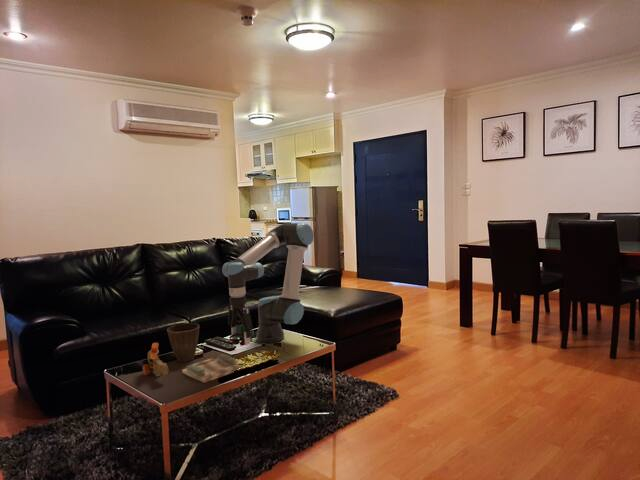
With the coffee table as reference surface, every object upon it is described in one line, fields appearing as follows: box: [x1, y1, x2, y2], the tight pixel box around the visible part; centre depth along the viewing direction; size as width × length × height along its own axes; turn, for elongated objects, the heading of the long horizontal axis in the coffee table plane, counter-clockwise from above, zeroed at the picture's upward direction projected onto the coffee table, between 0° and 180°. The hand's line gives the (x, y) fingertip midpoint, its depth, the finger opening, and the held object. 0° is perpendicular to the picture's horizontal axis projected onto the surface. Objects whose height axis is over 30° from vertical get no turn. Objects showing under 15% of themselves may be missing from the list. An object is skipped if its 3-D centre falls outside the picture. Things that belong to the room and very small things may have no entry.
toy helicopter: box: [142, 342, 169, 378], centre depth 193 cm, size 8×21×14 cm, turn 40°
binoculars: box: [228, 319, 253, 347], centre depth 208 cm, size 9×11×10 cm
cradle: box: [181, 354, 242, 384], centre depth 198 cm, size 19×18×4 cm
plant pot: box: [166, 322, 200, 363], centre depth 214 cm, size 15×15×16 cm
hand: (241, 342), depth 208 cm, fingers closed on binoculars, 9 cm apart
